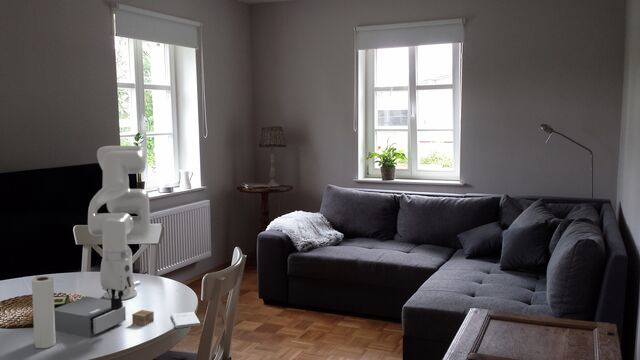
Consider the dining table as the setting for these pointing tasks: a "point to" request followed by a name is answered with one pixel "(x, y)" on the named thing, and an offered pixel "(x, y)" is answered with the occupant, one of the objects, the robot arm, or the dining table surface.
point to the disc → (95, 317)
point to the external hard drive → (185, 319)
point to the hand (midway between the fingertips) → (116, 308)
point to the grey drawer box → (80, 315)
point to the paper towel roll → (43, 311)
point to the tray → (108, 320)
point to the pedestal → (143, 317)
